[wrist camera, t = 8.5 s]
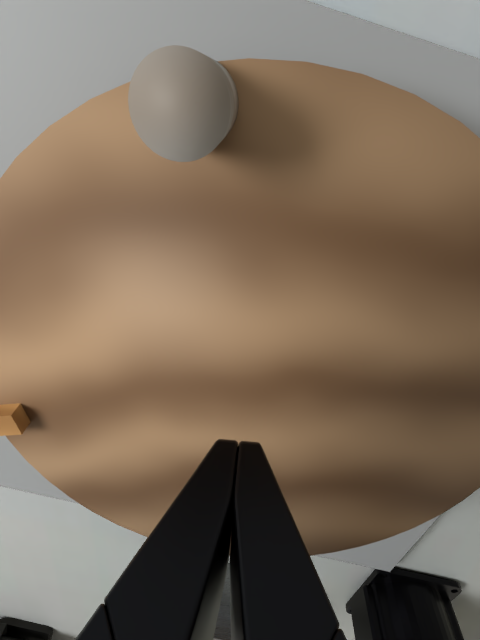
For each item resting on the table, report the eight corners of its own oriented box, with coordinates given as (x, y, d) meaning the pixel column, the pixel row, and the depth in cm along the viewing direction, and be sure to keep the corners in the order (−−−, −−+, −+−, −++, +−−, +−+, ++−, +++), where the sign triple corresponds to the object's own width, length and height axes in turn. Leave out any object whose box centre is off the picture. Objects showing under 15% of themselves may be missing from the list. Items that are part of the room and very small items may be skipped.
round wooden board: (485, 520, 24) (532, 615, 20) (92, 531, 27) (58, 615, 23) (624, -16, 11) (838, -79, 7) (-132, 119, 15) (-300, 132, 10)
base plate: (730, 149, 14) (875, 168, 11) (386, 557, 28) (402, 622, 25) (-62, -117, 12) (-193, -198, 9) (-12, 468, 26) (-54, 526, 23)
